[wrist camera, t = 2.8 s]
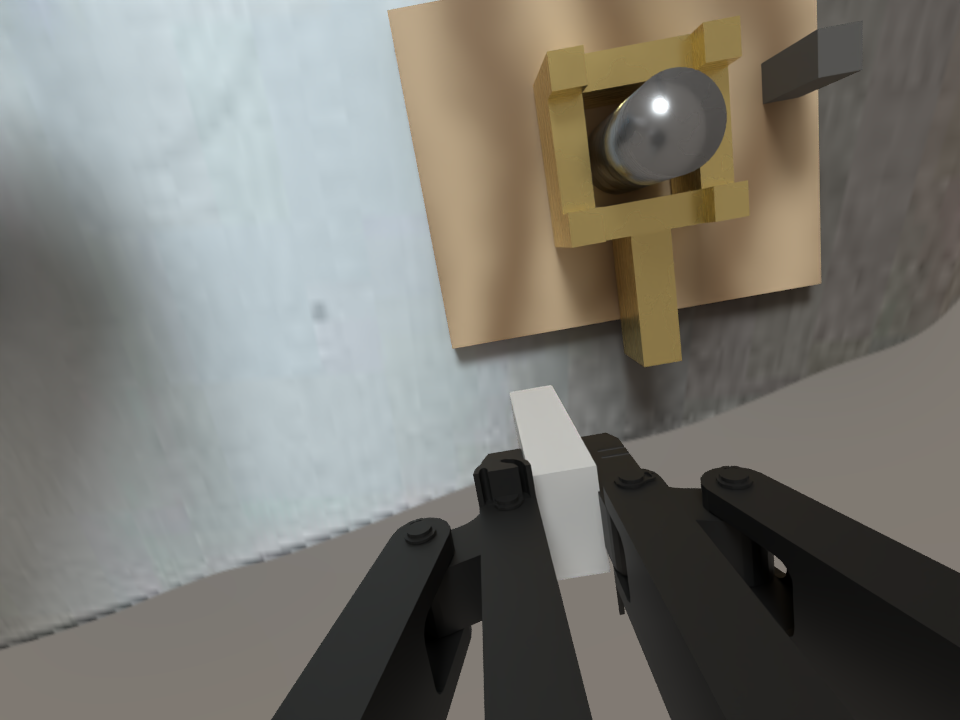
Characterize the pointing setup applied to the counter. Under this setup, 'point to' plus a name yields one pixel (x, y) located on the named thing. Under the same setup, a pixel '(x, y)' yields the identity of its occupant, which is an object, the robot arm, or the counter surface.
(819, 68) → the block
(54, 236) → the counter surface
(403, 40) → the oak board
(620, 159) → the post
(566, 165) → the handled square frame
